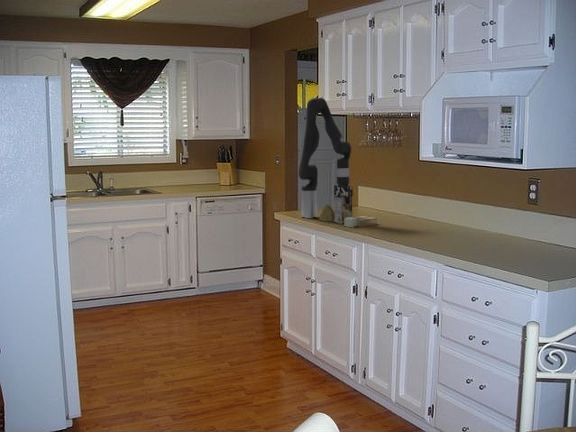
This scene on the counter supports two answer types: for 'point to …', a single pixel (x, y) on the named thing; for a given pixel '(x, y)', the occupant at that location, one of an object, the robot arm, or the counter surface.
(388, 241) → the counter surface
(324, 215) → the rock
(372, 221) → the oak block
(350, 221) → the sage cube
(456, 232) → the counter surface
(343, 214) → the coffee box
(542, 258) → the counter surface
